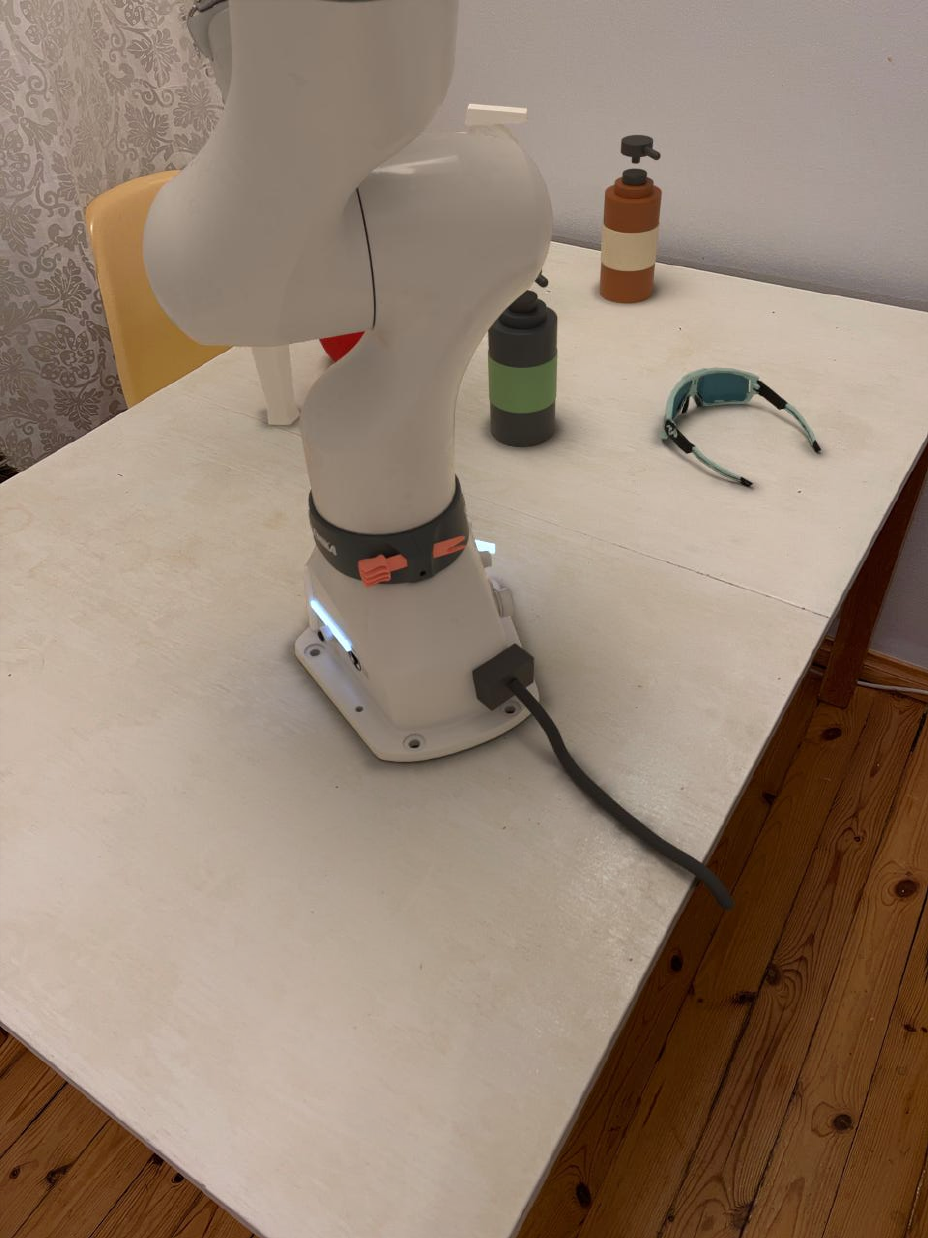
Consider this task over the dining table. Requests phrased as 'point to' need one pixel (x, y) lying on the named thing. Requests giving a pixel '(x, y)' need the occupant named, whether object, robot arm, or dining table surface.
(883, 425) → the dining table surface
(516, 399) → the dark grey pump bottle
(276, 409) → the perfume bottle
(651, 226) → the amber bottle
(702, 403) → the sunglasses
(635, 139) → the dark grey pump head
